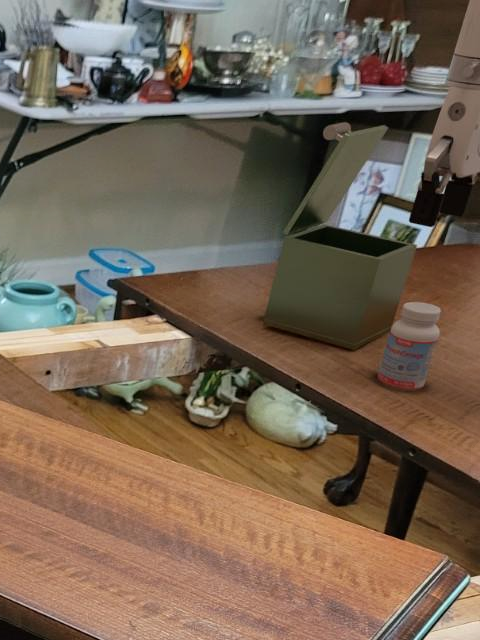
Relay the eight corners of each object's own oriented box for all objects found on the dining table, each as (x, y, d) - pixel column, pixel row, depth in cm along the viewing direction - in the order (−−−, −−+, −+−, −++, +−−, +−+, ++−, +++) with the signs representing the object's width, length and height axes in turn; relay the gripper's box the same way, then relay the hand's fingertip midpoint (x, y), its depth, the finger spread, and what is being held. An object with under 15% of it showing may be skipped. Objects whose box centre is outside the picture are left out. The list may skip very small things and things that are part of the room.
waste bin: (390, 331, 172) (417, 244, 165) (353, 350, 163) (380, 259, 156) (302, 307, 181) (324, 224, 173) (262, 324, 172) (284, 237, 165)
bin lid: (388, 127, 162) (360, 109, 164) (349, 136, 153) (319, 116, 155) (326, 222, 173) (300, 204, 175) (286, 235, 164) (259, 216, 166)
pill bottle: (368, 388, 150) (390, 307, 144) (385, 376, 154) (406, 297, 148) (414, 399, 147) (437, 317, 141) (429, 387, 151) (453, 306, 145)
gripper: (488, 82, 125) (439, 235, 134) (538, 74, 136) (489, 216, 145) (422, 73, 130) (380, 222, 139) (476, 66, 140) (433, 205, 149)
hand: (436, 219), depth 142 cm, fingers open, 9 cm apart
